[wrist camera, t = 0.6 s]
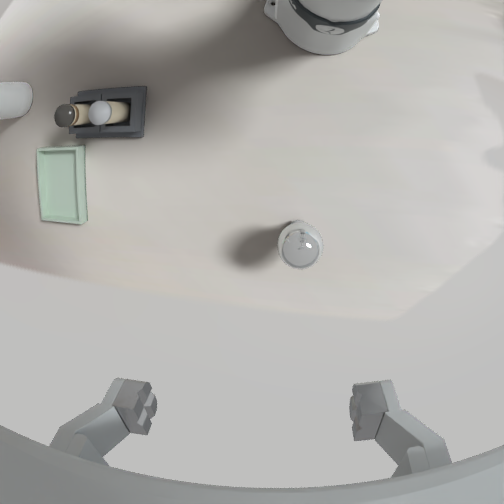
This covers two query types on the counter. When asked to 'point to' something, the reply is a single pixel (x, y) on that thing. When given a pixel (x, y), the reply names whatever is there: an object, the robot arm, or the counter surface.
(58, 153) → the parts tray
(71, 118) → the fuse
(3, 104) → the bottle
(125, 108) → the fuse
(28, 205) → the counter surface
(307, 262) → the light bulb
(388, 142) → the counter surface
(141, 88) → the fuse block
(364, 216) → the counter surface
